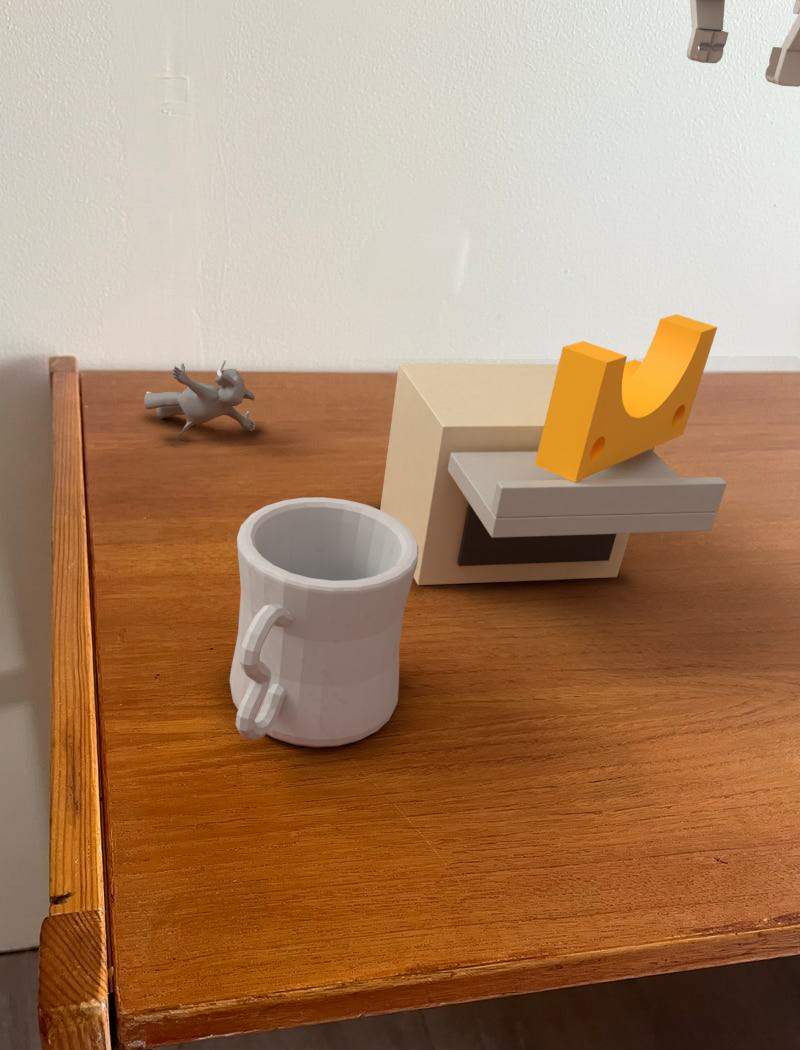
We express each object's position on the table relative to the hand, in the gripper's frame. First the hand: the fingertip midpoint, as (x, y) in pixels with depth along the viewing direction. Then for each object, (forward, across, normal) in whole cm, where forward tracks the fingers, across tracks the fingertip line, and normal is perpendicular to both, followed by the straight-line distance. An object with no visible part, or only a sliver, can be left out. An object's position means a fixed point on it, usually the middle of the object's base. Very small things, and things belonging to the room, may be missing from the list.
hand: (740, 72), depth 63 cm
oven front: (+29, -11, +13) cm, 33 cm away
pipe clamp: (+18, -15, +12) cm, 26 cm away
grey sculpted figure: (+29, +11, +32) cm, 45 cm away
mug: (+29, -24, +30) cm, 48 cm away
